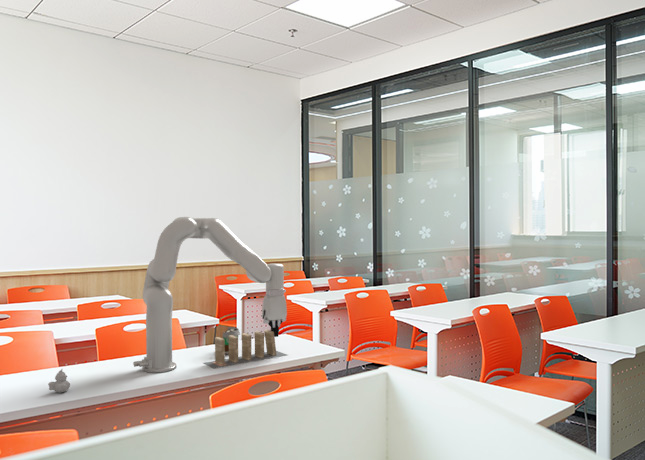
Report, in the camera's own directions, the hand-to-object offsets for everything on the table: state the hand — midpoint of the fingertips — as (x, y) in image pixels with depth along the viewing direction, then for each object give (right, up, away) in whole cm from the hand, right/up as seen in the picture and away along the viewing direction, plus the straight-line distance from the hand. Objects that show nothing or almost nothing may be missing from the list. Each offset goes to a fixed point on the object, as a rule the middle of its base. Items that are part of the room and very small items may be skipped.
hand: (274, 336), depth 231 cm
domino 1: (-20, -8, -15) cm, 27 cm away
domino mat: (-11, -8, -8) cm, 16 cm away
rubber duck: (-67, -9, -49) cm, 84 cm away
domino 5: (-1, -7, -1) cm, 8 cm away
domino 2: (-16, -8, -12) cm, 21 cm away
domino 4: (-6, -8, -4) cm, 11 cm away
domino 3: (-11, -8, -8) cm, 15 cm away
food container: (-18, -8, +4) cm, 20 cm away
